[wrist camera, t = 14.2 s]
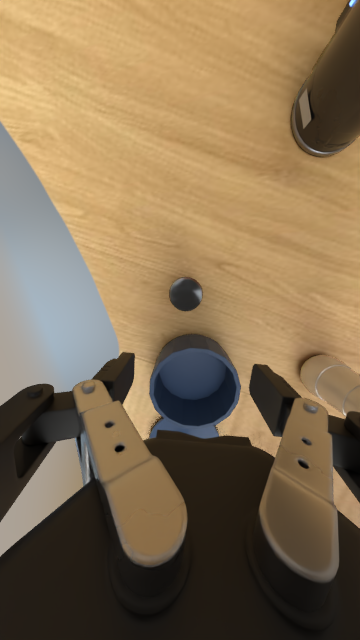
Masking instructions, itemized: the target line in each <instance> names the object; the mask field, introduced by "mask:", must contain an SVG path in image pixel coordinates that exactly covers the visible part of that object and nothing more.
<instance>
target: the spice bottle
mask: <svg viewBox="0 0 360 640" xmlns="http://www.w3.org/2000/svg"><path fill="white" fill-rule="evenodd" d="M202 296H203V291H202V288H201V286H200V284H199V283H198V282H197V281H196V280H195V279H193V278H190V277H182V278H179V279H177V280H176V281H175V282H174V283H173V284H172V285H171V287H170V290H169V297H170V301H171V303H172V304H173V305H174V306H175V307H176V308H177V309H179V310H181V311H191V310H193V309H195V308H196V307H197V306H198V305H199V304H200V302H201V300H202Z"/></svg>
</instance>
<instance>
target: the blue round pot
mask: <svg viewBox="0 0 360 640" xmlns="http://www.w3.org/2000/svg"><path fill="white" fill-rule="evenodd" d="M240 389H241V385H240V382H239V378H238V374H237V371H236V369H235V367H234V366H233V364H232V362H231V361H230V359H229V357H228V355H227V354H226V352H225V351H224V350H223V349H222V347H221V346H220V345H219V344H218V343H217V342H215V341H214V340H212V339H211V338H209V337H206V336H203V335H198V334H188V335H183V336H179V337H177V338H175V339H173V340H171V341H170V342H169V343H168V344H166V345H165V347H163V349H162V350H161V352H160V354H159V356H158V358H157V360H156V363H155V366H154V369H153V372H152V375H151V379H150V392H149V394H150V398H151V400H152V403H153V405H154V408H155V410H156V411H157V412H158V413H159V414H160V415H161V416H162V417H163V418H164V419H165V420H166V421H167V422H169V423H171V424H174V425H176V426H178V427H180V428H185V429H196V430H198V429H203V428H207V427H211V426H215V425H217V424H218V423H220V422H221V421H223V420H224V419H226V418H227V417H229V415H230V414H231V412H232V411H233V409H234V408H235V407H236V405H237V404H238V400H239V394H240Z"/></svg>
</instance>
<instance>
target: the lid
mask: <svg viewBox="0 0 360 640" xmlns="http://www.w3.org/2000/svg"><path fill="white" fill-rule="evenodd" d="M157 430H168V431H180V432H183V433H186V434H190V435H193V436H196V437H199V438H204V439H205V438H213V437H219V434H218V431H217V429H216V428H215V426H211V427H207V428H203V429H198V430H196V429H185V428H180V427H178V426H176V425H174V424H171V423H169V422H167V421H166V420H165V419H164V418H162V419H161V420H159V421H158V422H157V423H156V424H155V426H154V427H153V429H152V431H151V434H150V438H154V437H156V435H157ZM150 438H149V439H150Z"/></svg>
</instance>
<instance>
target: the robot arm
mask: <svg viewBox="0 0 360 640" xmlns="http://www.w3.org/2000/svg"><path fill="white" fill-rule="evenodd" d="M291 124H292V131H293V134H294V137H295V139H296V141H297V143H298V144H299V145H300V147H301V148H302V149H303V150H305V151H306V152H307V153H309V154H312V155H314V156H320V157H324V156H331V155H334V154H336V153H338V152H340V151H342V150H344V149H345V148H346V147H347V146H349V145H350V144H351V143H352V142H353V141H354V140H355V139H356V138H357V137H358V136H360V0H349V2H348V3H347V5H346V7H345V8H344V10H343V12H342V13H341V15H340V17H339V19H338V20H337V24H336V29H335V33H334V35H333V36H332V38H331V40H330V41H329V43H328V44H327V46H326V48H325V49H324V51H323V53H322V54H321V56H320V57H319V59H318V61H317V62H316V64H315V65H314V67H313V70H312V73H311V74H310V76H309V77H308V78H307V80H306V81H305V83H304V84H303V86H302V87H301V89H300V91H299V92H298V94H297V96H296V99H295V101H294V104H293V108H292V115H291ZM134 360H135V355H134V353H126V352H122V354H121V355H120V356H119V357H118V358H117V359H112V360H110V361H108V362H107V363H106V364H105V365H104V366H103V368H101V370H100V371H99V372H98V373H97V374H96V375H95V376H94V377H93V379H91V380H86V381H83V382H80V383H78V384H77V385H75V386H74V388H73V390H72V391H70V392H61V393H54V387H53V386H52V385H49V384H37V385H33V386H30V387H27V388H25V389H23V390H22V391H20V392H18V393H17V394H16V395H15V396H13V397H12V398H11V399H9V400H8V401H7V402H5V403H4V404H3V405H1V406H0V522H1V520H2V519H3V517H4V516H5V515H6V513H7V512H8V510H9V509H10V507H11V506H12V505H13V503H14V502H15V500H16V499H17V497H18V496H19V495H20V493H21V491H22V490H23V489H24V487H25V486H26V484H27V483H28V482H29V480H30V478H31V477H32V476H33V474H34V473H35V472H36V470H37V469H38V467H39V466H40V464H41V463H42V461H43V460H44V459H45V457H46V456H47V454H48V453H49V451H50V450H51V449H52V447H53V446H54V444H55V443H56V441H60V440H65V439H71V438H75V441H76V447H77V452H78V456H79V461H80V466H81V471H82V478H83V487H82V488H81V489H80V490H79V491H78V492H76V493H75V494H74V495H73V496H72V497H70V498H69V499H68V500H67V501H66V502H64V503H63V504H62V505H61V506H60V507H58V508H57V509H56V510H55V511H54V512H52V513H51V514H50V515H49V516H48V517H46V518H45V519H44V520H43V521H42V522H41V523H39V524H38V525H37V526H35V527H34V528H33V529H32V530H31V531H30V532H28V533H27V534H26V535H25V536H23V537H22V538H21V539H20V540H19V541H17V542H16V543H15V544H14V545H13V546H12V547H10V548H9V549H8V550H7V551H6V552H5V553H4V554H2V555H1V557H0V640H360V529H359V528H358V527H357V526H356V525H355V524H354V523H352V522H351V521H350V520H349V519H348V518H346V517H345V516H344V515H343V514H342V513H340V512H339V511H338V510H337V508H336V506H335V505H334V501H333V467H334V468H335V470H336V471H337V472H338V474H339V475H340V476H341V478H342V479H343V481H344V482H345V483H346V485H347V486H348V487H349V489H350V490H351V492H352V493H353V494H354V496H355V497H356V498H357V500H358V501H359V503H360V412H356V411H349V412H348V413H347V415H346V418H345V419H342V418H338V417H335V416H331V415H328V411H327V410H326V409H325V408H324V407H323V406H322V405H320V404H319V403H317V402H315V401H312V400H310V399H306V398H302V397H301V396H300V395H299V394H298V393H297V392H296V391H295V390H294V389H293V388H292V387H291V386H290V385H289V384H288V383H287V382H286V381H285V380H284V379H283V378H282V377H281V376H279V375H277V374H276V373H274V372H273V371H272V370H271V369H270V368H269V367H268V366H267V365H261V364H254V366H253V369H252V374H251V380H250V385H249V391H250V395H251V397H252V398H253V400H254V402H255V404H256V405H257V407H258V409H259V411H260V413H261V414H262V416H263V418H264V420H265V421H266V423H267V425H268V427H269V429H270V430H271V432H272V434H273V436H278V437H282V439H281V442H280V445H279V448H278V451H277V454H276V457H273V456H272V455H270V454H269V453H267V452H265V451H263V450H261V449H259V448H256V447H254V446H252V445H251V442H250V440H249V438H248V437H237V436H220V437H213V438H205V439H204V438H199V437H196V436H193V435H190V434H186V433H183V432H180V431H168V430H157V435H156V437H154V438H150V439H146V440H144V441H143V440H142V438H141V436H140V435H139V433H138V431H137V430H136V428H135V426H134V425H133V423H132V421H131V419H130V418H129V416H128V414H127V413H126V411H125V409H124V408H123V406H122V404H123V402H124V400H125V398H126V396H127V394H128V392H129V390H130V388H131V386H132V383H133V379H134ZM21 436H22V437H21ZM20 437H21V438H20ZM19 438H20V439H19ZM18 439H19V440H18Z"/></svg>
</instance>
